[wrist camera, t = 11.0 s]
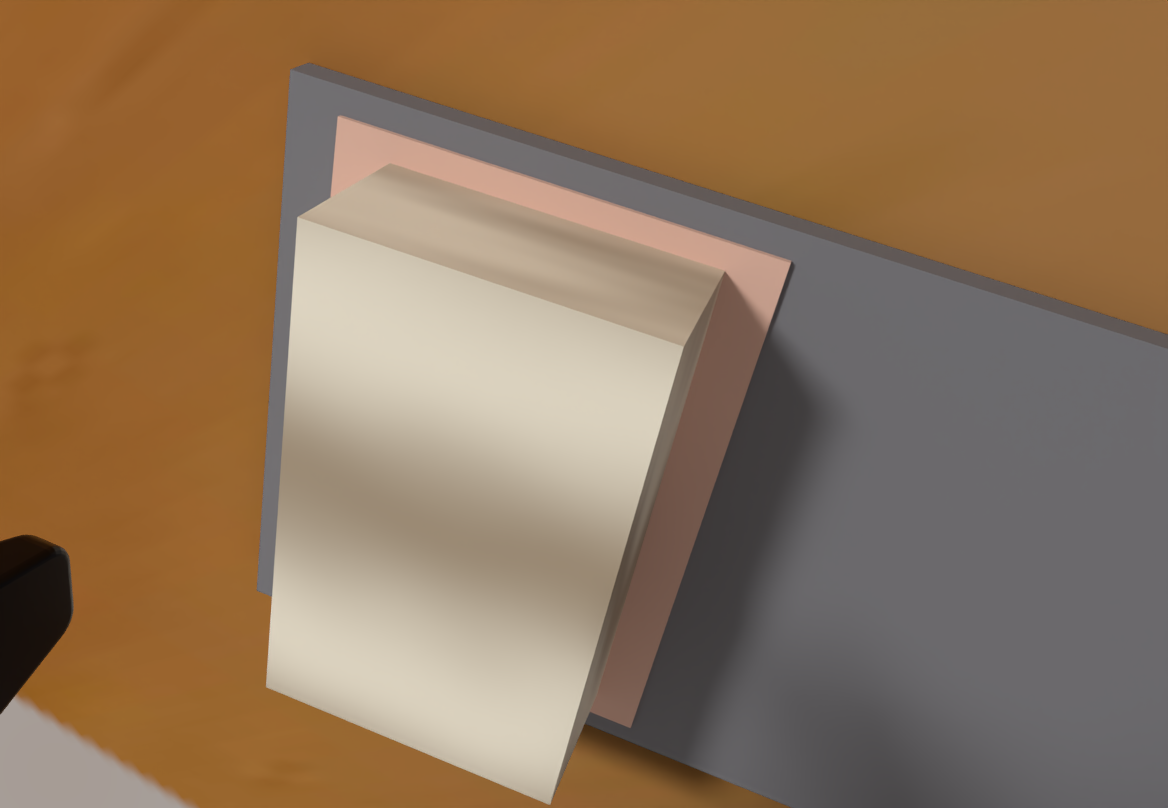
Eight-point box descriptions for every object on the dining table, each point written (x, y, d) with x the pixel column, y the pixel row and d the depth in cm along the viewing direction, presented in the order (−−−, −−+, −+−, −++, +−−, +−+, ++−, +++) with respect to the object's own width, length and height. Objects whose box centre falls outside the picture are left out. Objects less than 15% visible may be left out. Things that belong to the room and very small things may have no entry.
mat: (1610, 474, 15) (1635, 500, 15) (1189, 944, 22) (1195, 975, 21) (308, 62, 19) (287, 70, 18) (271, 574, 25) (254, 593, 24)
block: (596, 695, 22) (549, 804, 20) (341, 594, 23) (265, 687, 21) (725, 271, 17) (683, 346, 15) (389, 163, 18) (297, 217, 16)
